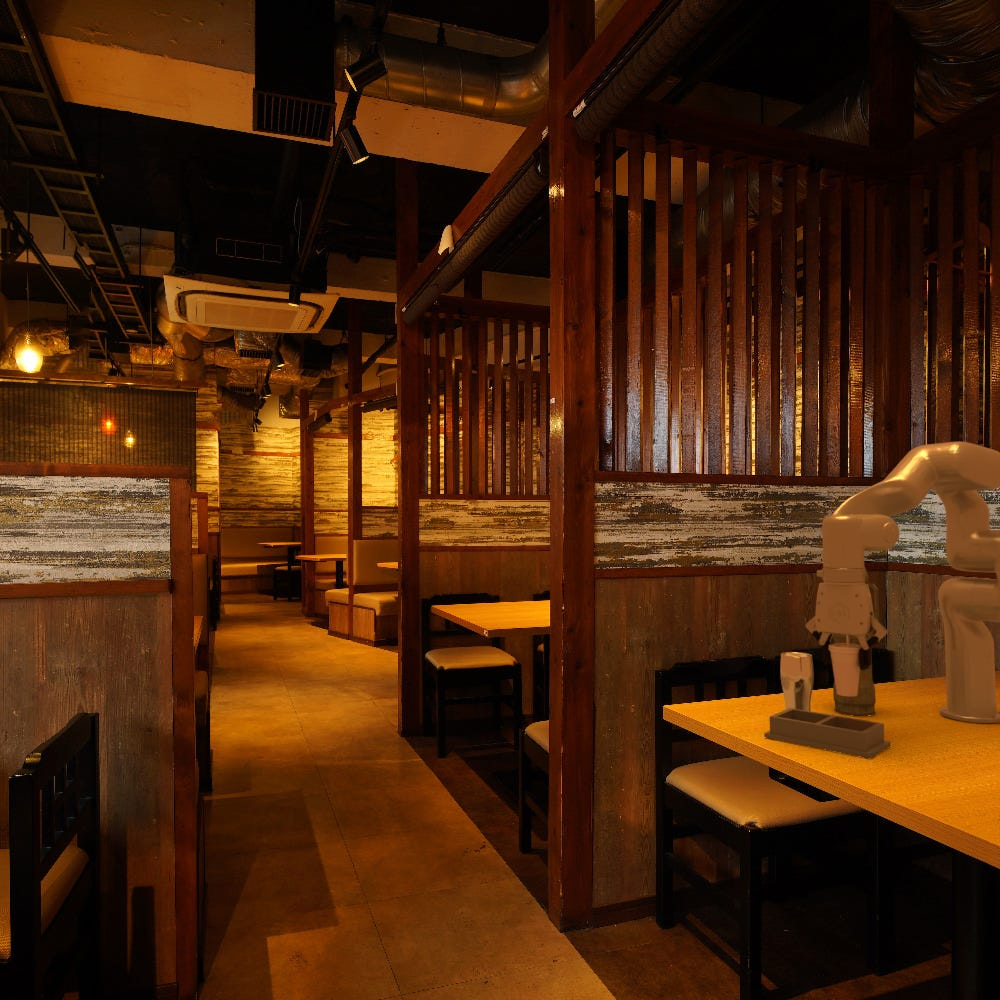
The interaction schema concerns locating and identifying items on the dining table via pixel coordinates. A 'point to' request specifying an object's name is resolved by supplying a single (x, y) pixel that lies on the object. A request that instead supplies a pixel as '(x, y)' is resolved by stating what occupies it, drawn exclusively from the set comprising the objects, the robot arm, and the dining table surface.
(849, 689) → the smoothie
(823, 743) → the drink carrier
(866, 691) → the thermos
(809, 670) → the beer glass
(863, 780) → the dining table surface
